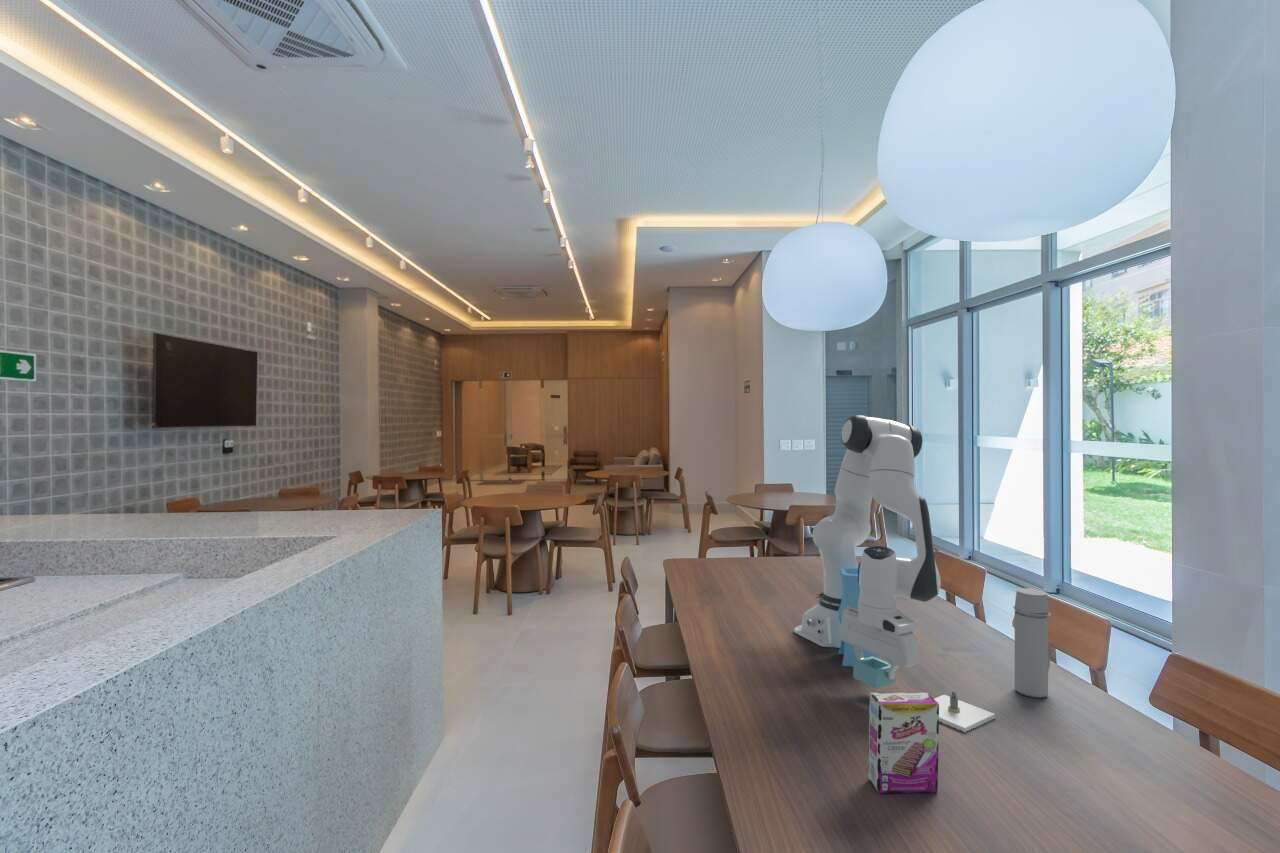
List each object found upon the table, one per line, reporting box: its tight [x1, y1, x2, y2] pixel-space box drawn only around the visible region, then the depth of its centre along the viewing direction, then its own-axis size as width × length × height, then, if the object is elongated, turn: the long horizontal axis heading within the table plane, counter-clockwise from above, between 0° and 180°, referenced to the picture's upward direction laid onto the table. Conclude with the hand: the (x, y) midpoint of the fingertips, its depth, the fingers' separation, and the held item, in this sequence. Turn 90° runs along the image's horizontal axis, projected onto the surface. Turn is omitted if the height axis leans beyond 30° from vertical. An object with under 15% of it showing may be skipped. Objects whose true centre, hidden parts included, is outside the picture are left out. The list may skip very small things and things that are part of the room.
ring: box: [852, 656, 897, 689], centre depth 150 cm, size 7×7×4 cm
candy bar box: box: [867, 692, 940, 794], centre depth 113 cm, size 11×5×16 cm, turn 92°
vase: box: [838, 567, 879, 668], centre depth 174 cm, size 10×10×25 cm
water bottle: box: [1013, 587, 1052, 699], centre depth 153 cm, size 9×8×25 cm
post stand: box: [933, 690, 996, 733], centre depth 141 cm, size 12×12×5 cm
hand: (875, 671), depth 150 cm, fingers closed on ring, 7 cm apart
